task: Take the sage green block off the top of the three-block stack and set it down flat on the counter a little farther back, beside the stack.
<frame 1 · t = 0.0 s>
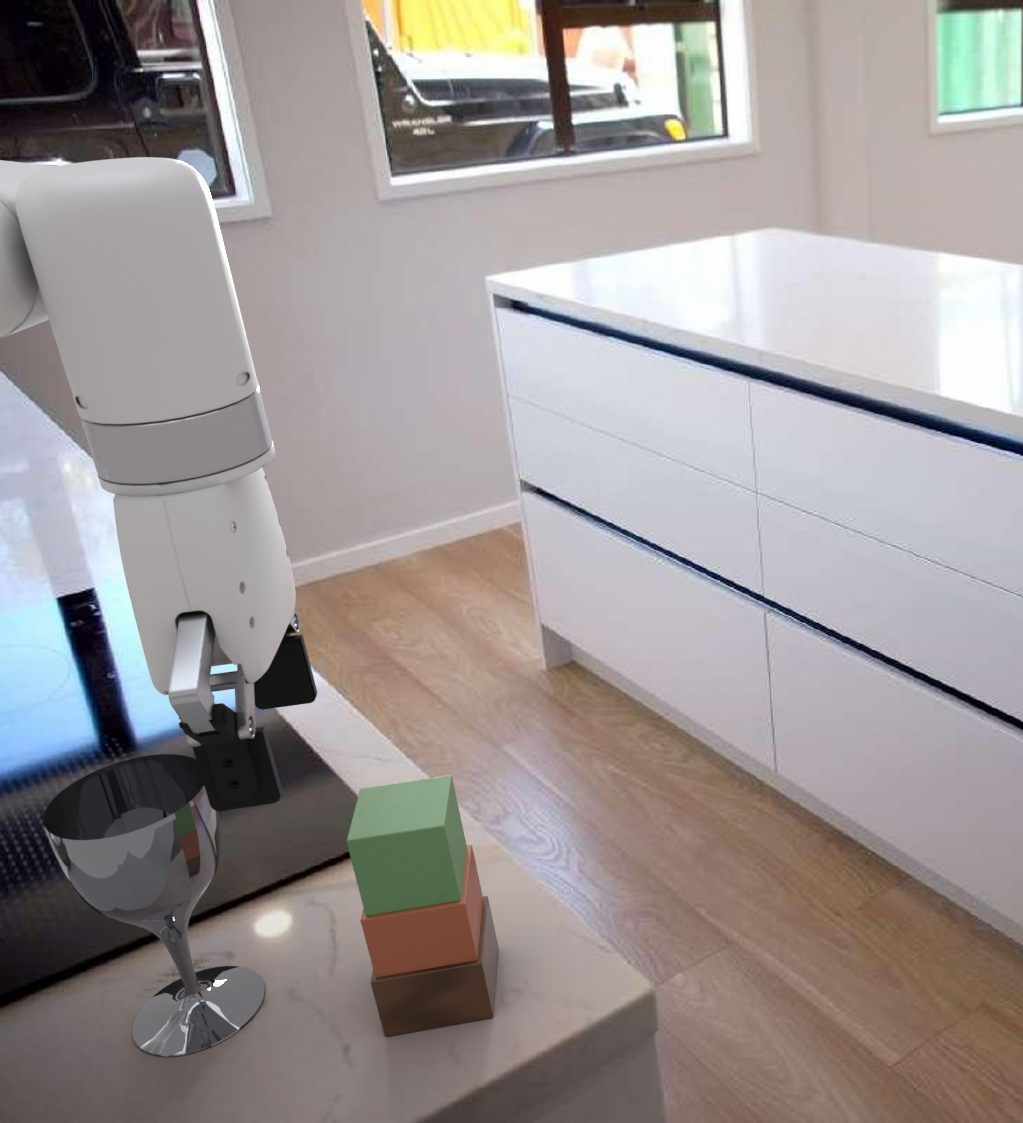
hand: (269, 750, 66), 18 cm above the worktop, tool pointing down, fingers open, 9 cm apart
walnut block: (444, 990, 75), on the worktop, touching terracotta block
wine glass: (200, 1012, 74), on the worktop
green block: (418, 880, 71), point 8 cm above the worktop, touching terracotta block
terracotta block: (431, 936, 73), point 4 cm above the worktop, touching green block, walnut block
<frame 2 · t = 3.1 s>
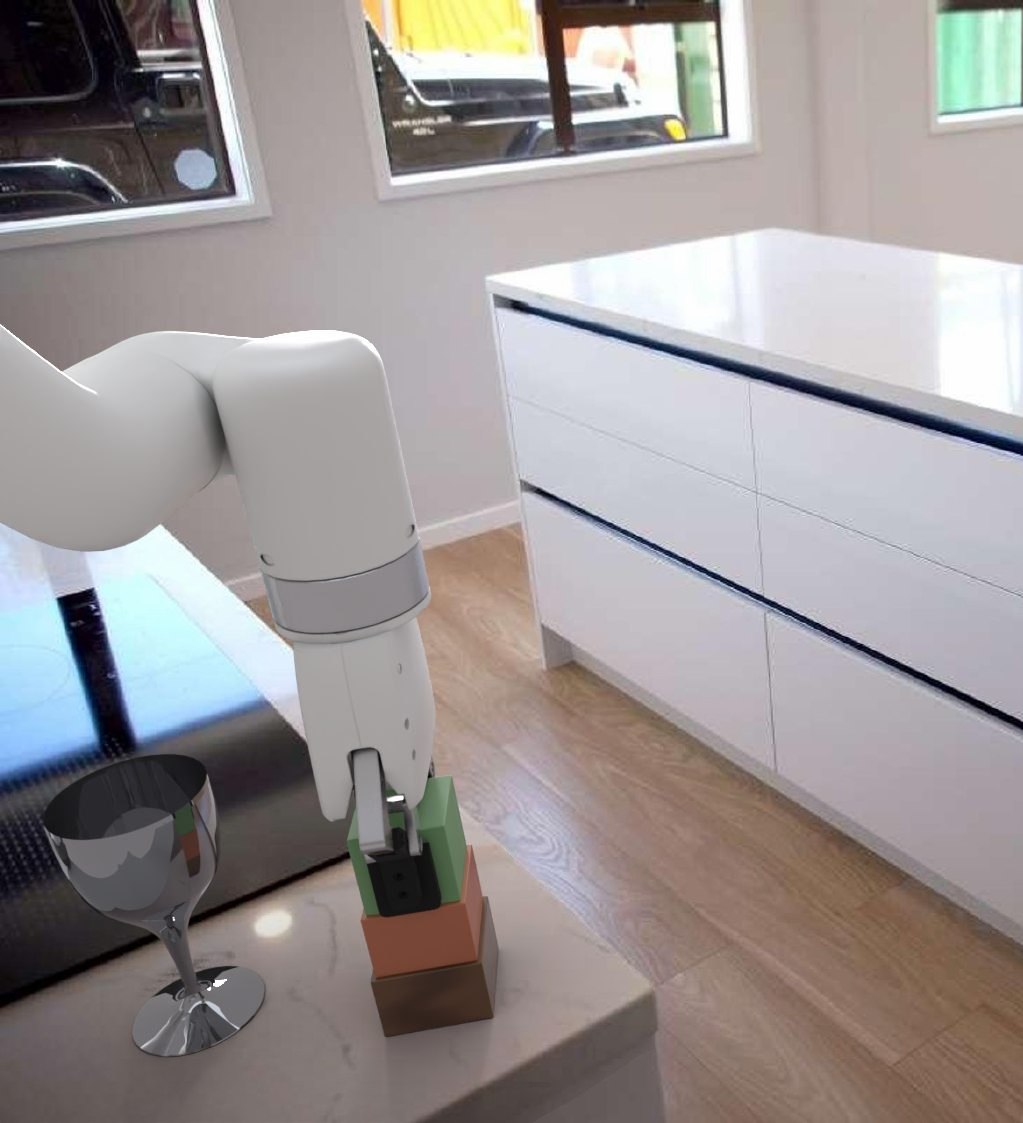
hand: (416, 874, 71), 8 cm above the worktop, tool pointing down, fingers closed on green block, 5 cm apart
green block: (418, 880, 71), point 8 cm above the worktop, touching gripper, terracotta block
everything else where it was.
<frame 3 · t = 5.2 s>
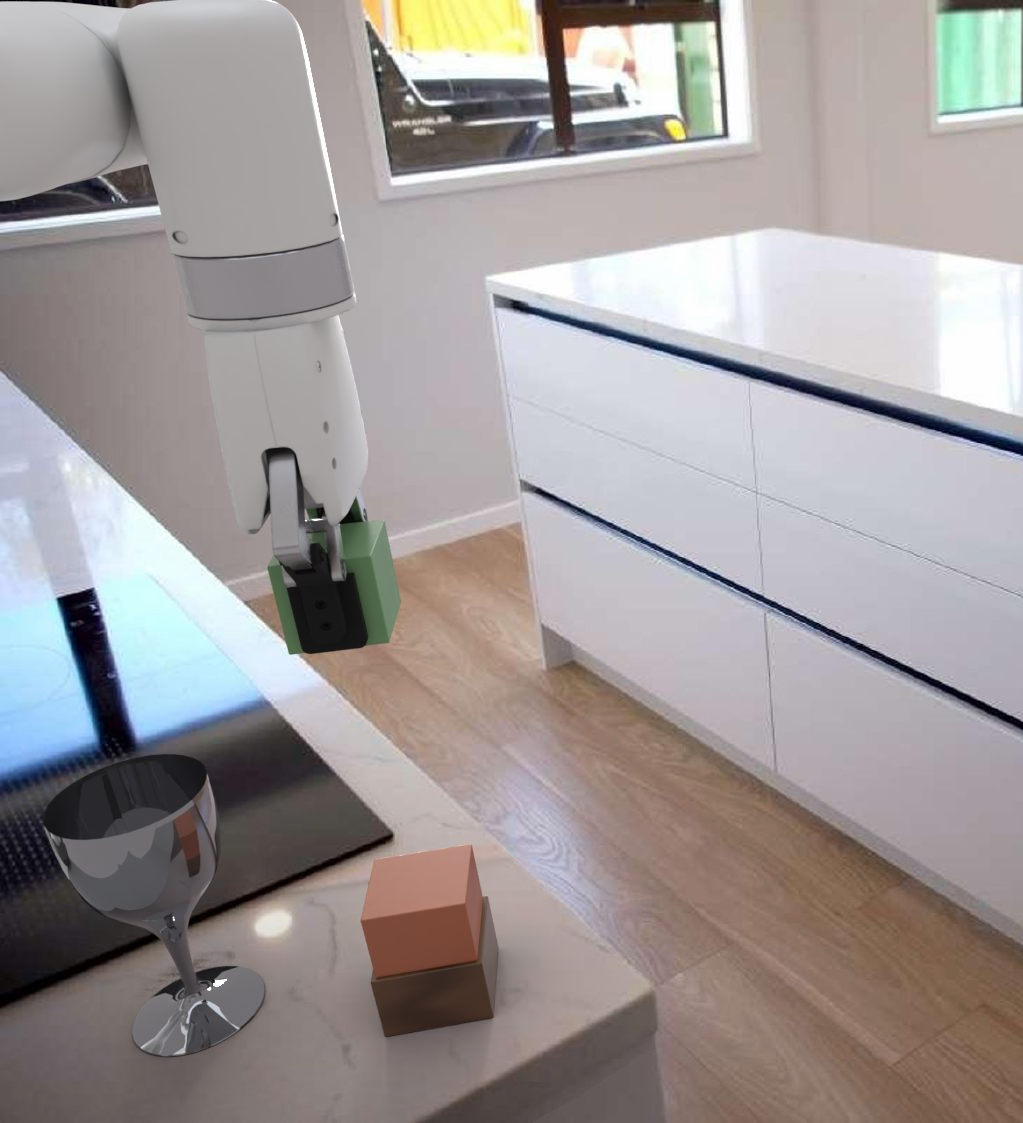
hand: (345, 620, 68), 23 cm above the worktop, tool pointing down, fingers closed on green block, 5 cm apart
green block: (347, 627, 68), point 23 cm above the worktop, touching gripper
terracotta block: (431, 936, 73), point 4 cm above the worktop, touching walnut block
everything else where it was.
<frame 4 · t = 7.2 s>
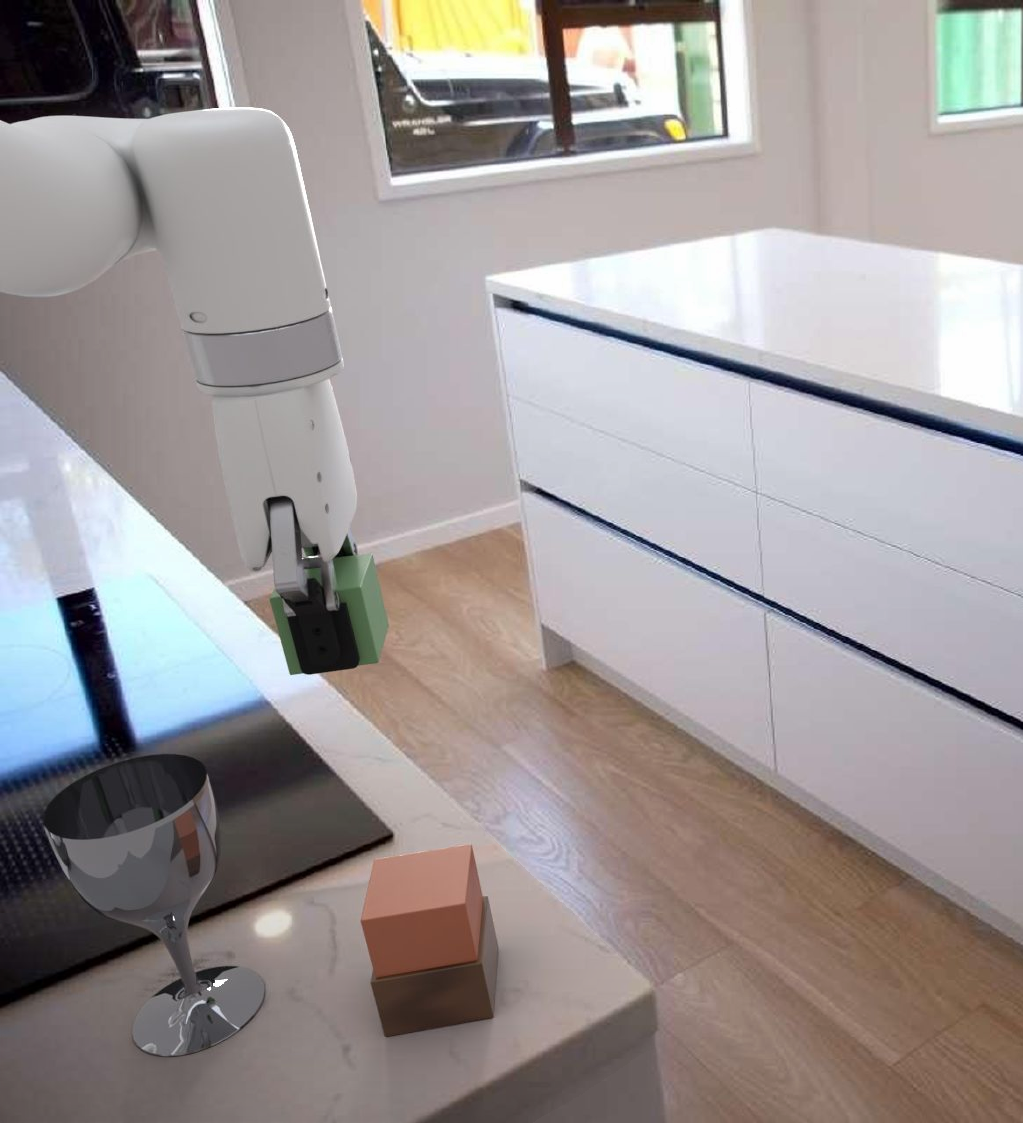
hand: (339, 643, 76), 18 cm above the worktop, tool pointing down, fingers closed on green block, 5 cm apart
green block: (341, 650, 77), point 18 cm above the worktop, touching gripper
everything else where it was.
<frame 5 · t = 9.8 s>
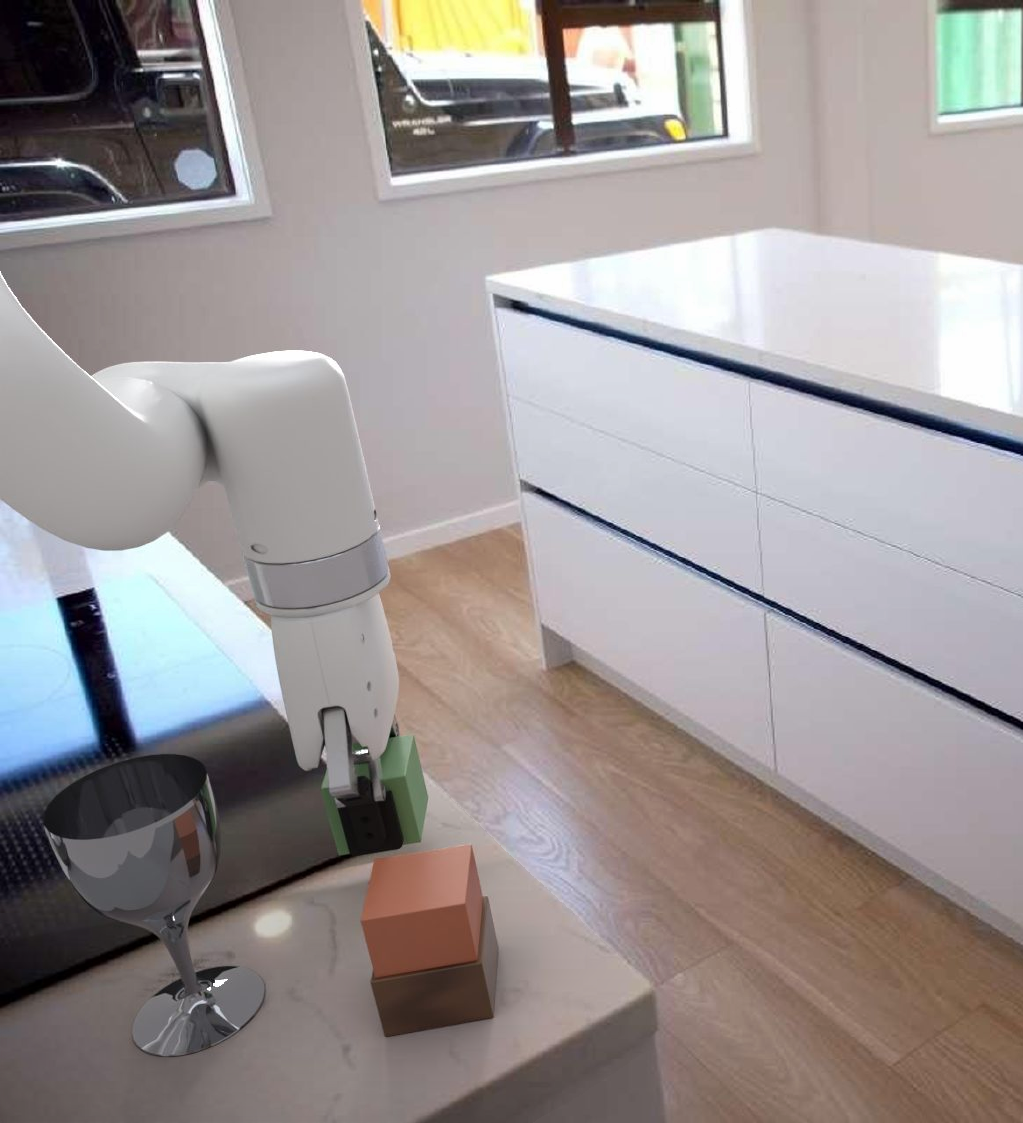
hand: (383, 820, 82), 5 cm above the worktop, tool pointing down, fingers closed on green block, 5 cm apart
green block: (385, 826, 82), point 5 cm above the worktop, touching gripper
everything else where it was.
when the fingers open (0 cm above the worktop, at t = 11.4 s): green block stays where it is, on the worktop.
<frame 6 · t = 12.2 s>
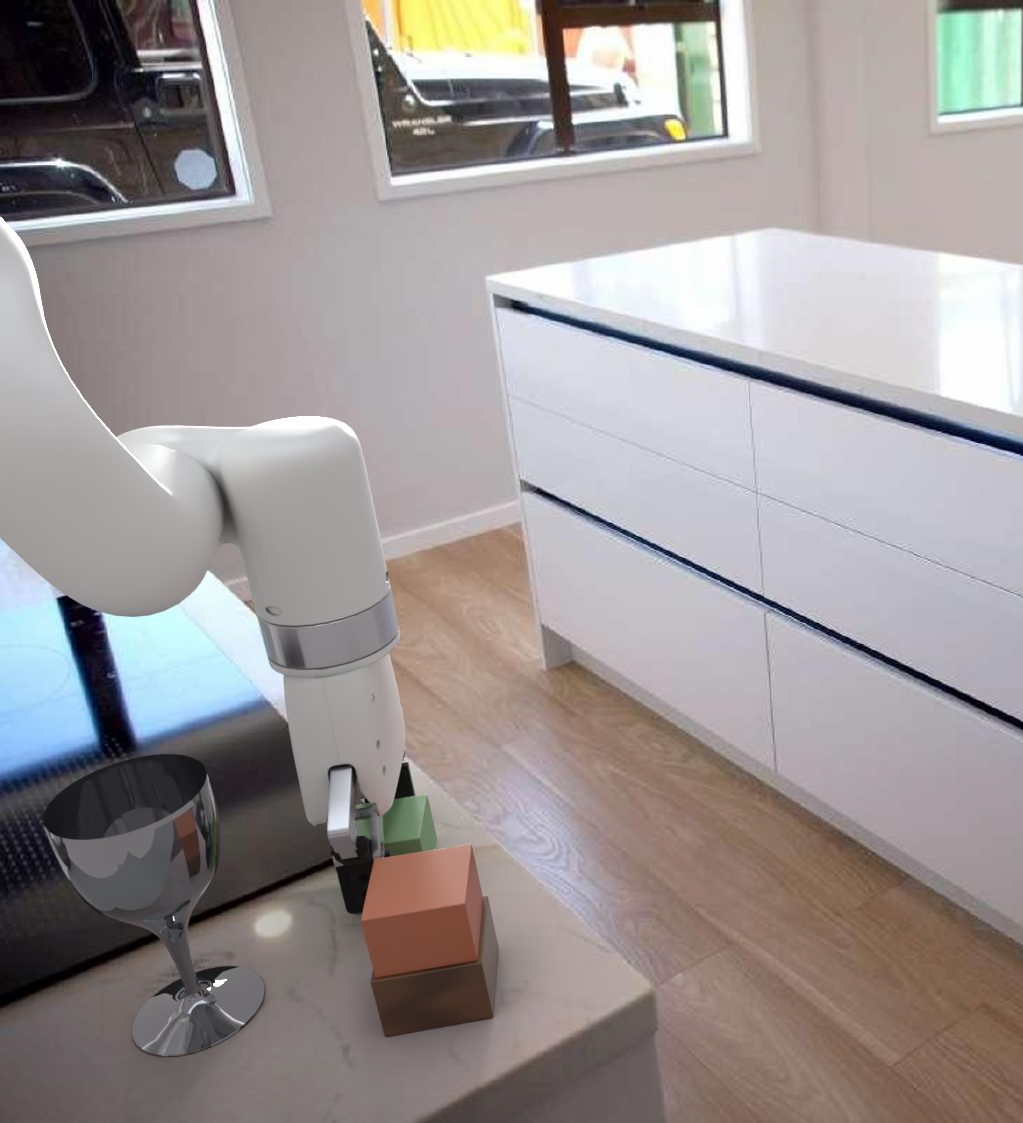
hand: (385, 859, 83), 2 cm above the worktop, tool pointing down, fingers open, 9 cm apart
green block: (398, 884, 84), on the worktop
everything else where it was.
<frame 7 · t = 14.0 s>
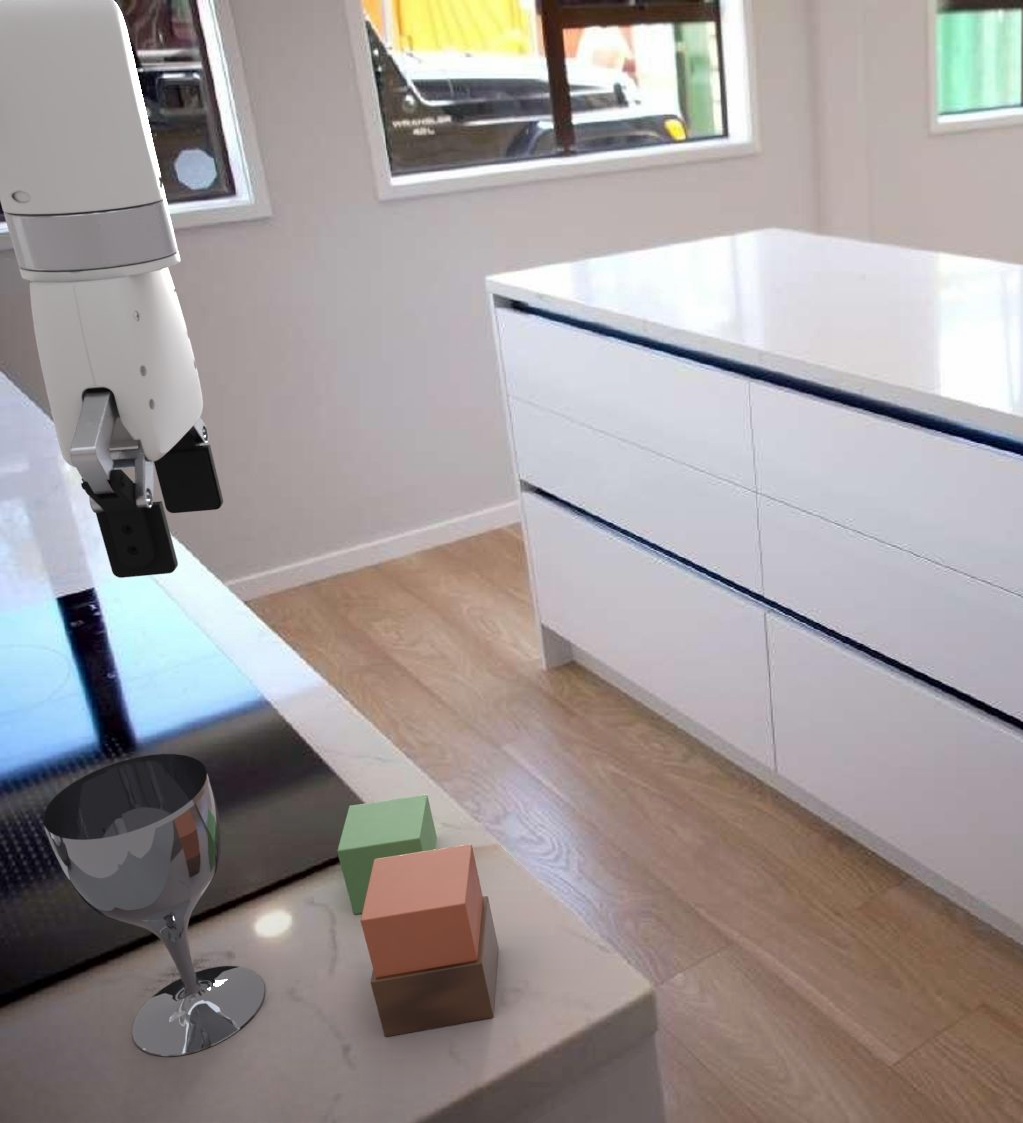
hand: (172, 539, 74), 25 cm above the worktop, tool pointing down, fingers open, 9 cm apart
nothing on the worktop moved.
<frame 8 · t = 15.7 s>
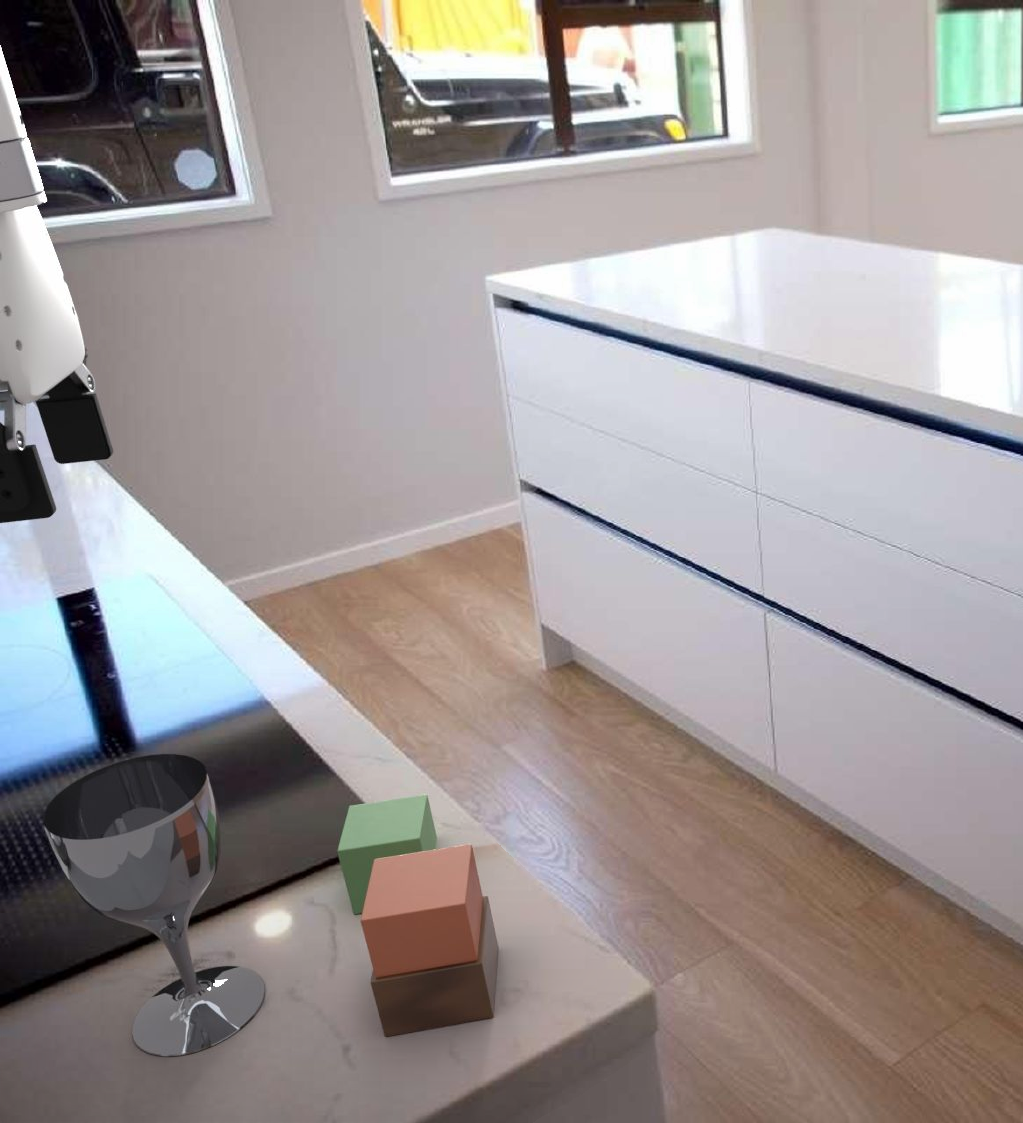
hand: (57, 487, 74), 28 cm above the worktop, tool pointing down, fingers open, 9 cm apart
nothing on the worktop moved.
at the end: green block inside the target area (0.2 cm from its centre), on the worktop; green block tilted 0°; the gripper is holding nothing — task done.
